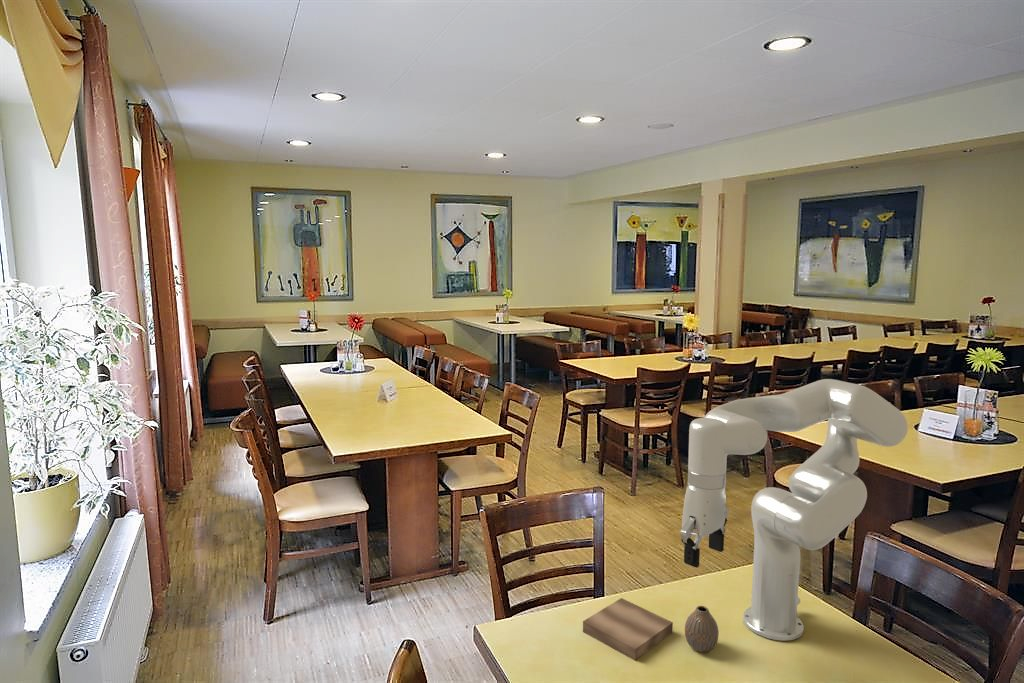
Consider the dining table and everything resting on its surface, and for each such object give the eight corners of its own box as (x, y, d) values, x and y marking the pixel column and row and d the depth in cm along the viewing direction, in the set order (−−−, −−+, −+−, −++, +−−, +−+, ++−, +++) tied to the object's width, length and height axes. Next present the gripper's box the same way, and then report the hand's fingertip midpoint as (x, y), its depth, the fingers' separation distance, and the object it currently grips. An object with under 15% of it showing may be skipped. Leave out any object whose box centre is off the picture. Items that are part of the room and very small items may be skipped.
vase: (719, 658, 132) (721, 619, 130) (685, 654, 133) (686, 615, 132) (715, 639, 138) (717, 601, 137) (683, 635, 140) (684, 598, 138)
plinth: (621, 607, 151) (621, 597, 150) (672, 632, 141) (672, 622, 140) (582, 631, 141) (583, 621, 141) (634, 660, 131) (635, 649, 131)
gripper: (711, 464, 139) (709, 538, 142) (667, 484, 127) (665, 565, 130) (744, 473, 134) (740, 549, 136) (700, 494, 122) (698, 578, 124)
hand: (704, 557), depth 133 cm, fingers open, 9 cm apart
